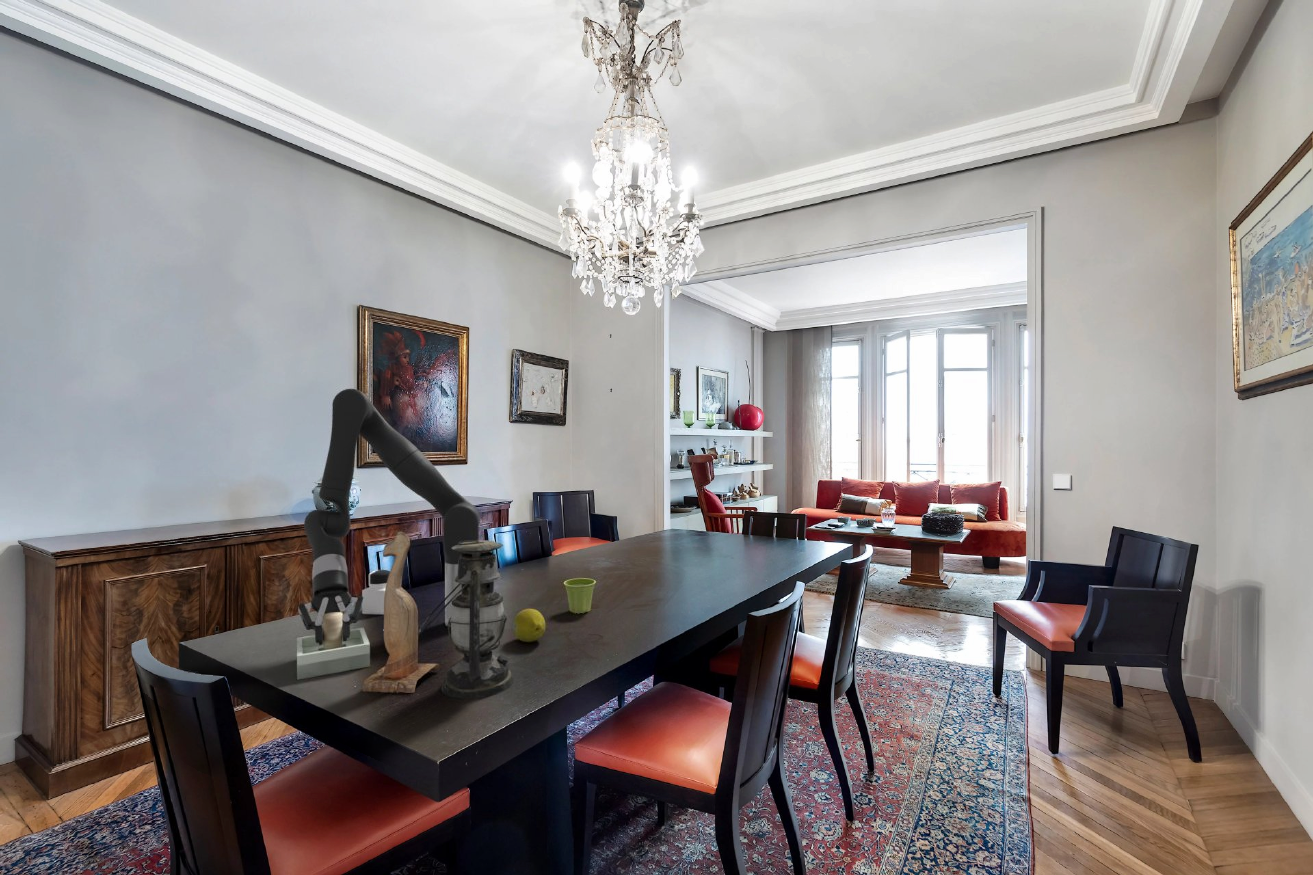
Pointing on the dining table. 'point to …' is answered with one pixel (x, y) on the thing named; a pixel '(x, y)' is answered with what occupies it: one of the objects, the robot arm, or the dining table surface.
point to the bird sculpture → (399, 630)
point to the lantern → (476, 625)
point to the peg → (332, 630)
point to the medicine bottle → (375, 592)
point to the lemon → (529, 625)
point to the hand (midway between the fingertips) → (333, 640)
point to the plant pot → (579, 594)
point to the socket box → (332, 655)
